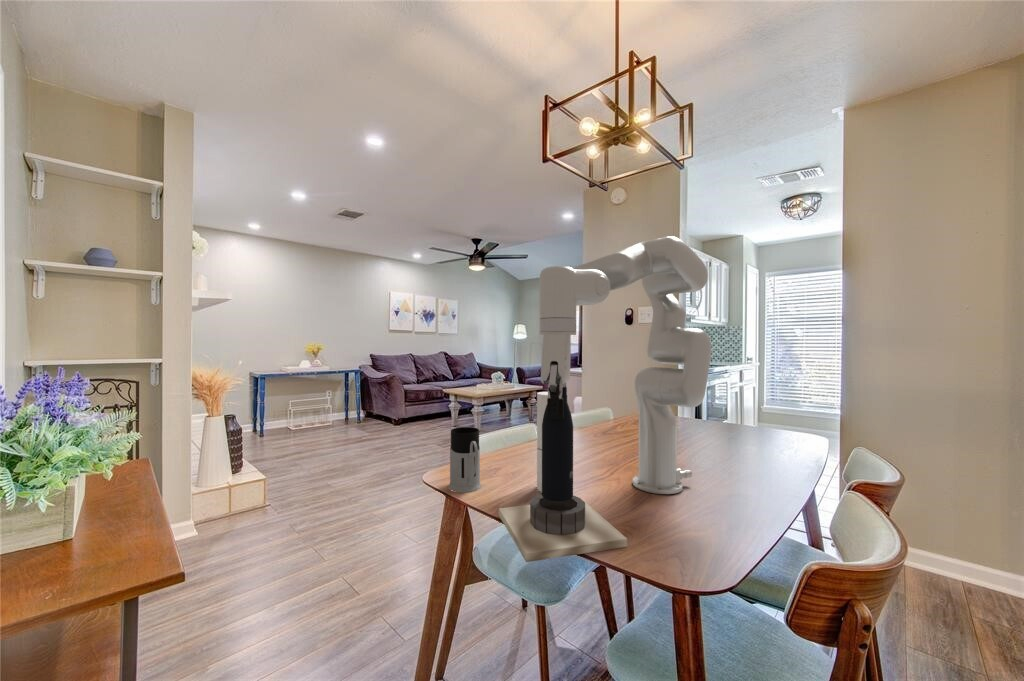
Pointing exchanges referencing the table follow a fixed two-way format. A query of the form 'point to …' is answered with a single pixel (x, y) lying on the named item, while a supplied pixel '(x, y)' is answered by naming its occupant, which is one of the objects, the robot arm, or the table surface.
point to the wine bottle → (557, 455)
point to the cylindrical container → (540, 434)
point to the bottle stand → (559, 529)
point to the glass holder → (464, 460)
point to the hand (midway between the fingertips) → (557, 415)
